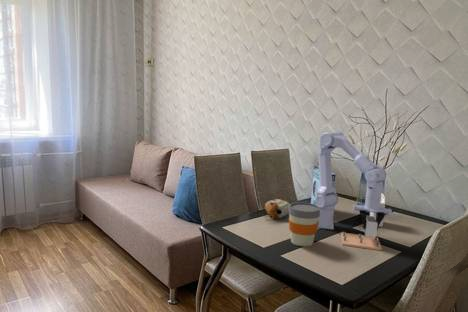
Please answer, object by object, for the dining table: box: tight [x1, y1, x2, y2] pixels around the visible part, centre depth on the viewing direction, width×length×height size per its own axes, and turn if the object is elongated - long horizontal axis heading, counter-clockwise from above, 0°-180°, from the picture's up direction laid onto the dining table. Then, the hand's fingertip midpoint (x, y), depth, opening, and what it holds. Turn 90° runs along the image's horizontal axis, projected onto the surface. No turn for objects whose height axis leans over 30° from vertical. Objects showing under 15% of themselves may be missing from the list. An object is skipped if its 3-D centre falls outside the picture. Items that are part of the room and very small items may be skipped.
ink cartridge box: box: [369, 193, 386, 228], centre depth 164 cm, size 9×5×15 cm, turn 168°
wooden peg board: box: [340, 231, 383, 251], centre depth 143 cm, size 15×12×2 cm
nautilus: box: [263, 198, 291, 222], centre depth 169 cm, size 8×22×15 cm
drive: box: [363, 215, 378, 237], centre depth 141 cm, size 4×8×6 cm, turn 165°
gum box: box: [310, 165, 337, 205], centre depth 177 cm, size 20×5×23 cm, turn 4°
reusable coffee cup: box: [288, 201, 320, 247], centre depth 140 cm, size 13×12×15 cm
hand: (369, 229), depth 141 cm, fingers closed on drive, 4 cm apart
